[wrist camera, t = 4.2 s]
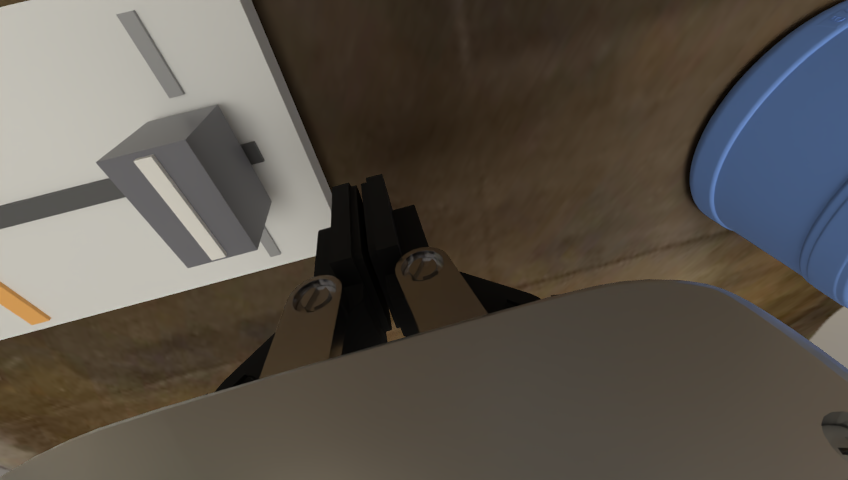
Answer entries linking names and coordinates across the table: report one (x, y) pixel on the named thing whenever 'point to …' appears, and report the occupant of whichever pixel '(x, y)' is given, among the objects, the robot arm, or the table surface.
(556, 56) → the table surface
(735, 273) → the table surface
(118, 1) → the fader board
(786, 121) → the water jug
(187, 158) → the fader knob
